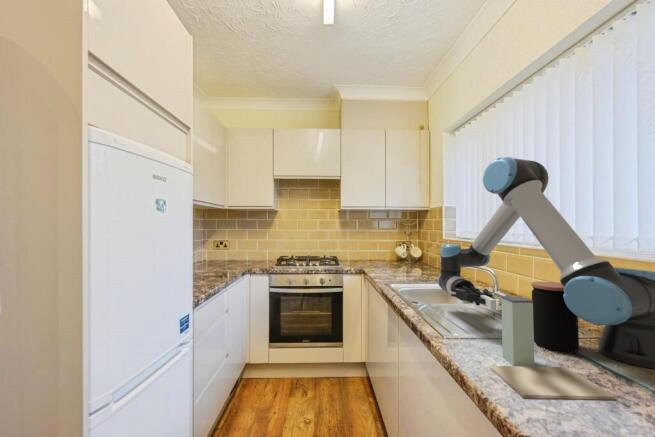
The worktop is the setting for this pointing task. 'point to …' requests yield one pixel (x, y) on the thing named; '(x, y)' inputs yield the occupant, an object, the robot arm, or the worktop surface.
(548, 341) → the coffee jar
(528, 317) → the sage block
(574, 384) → the birch board
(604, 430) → the worktop surface
